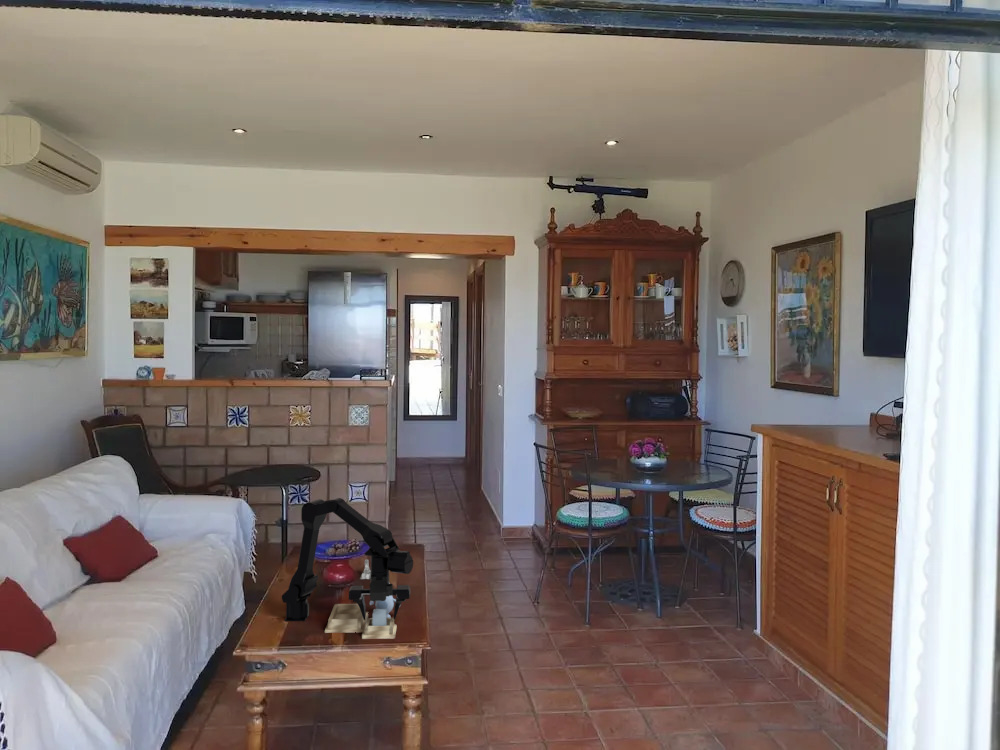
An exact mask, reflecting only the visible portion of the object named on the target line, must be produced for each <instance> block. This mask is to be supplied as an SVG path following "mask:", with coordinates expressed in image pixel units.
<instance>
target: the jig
mask: <svg viewBox="0 0 1000 750" xmlns="http://www.w3.org/2000/svg"><path fill="white" fill-rule="evenodd" d="M368 613H369V611H366V619H365V620H364V619H363V616H362V613H361V610H360V607H359V605H358V604H357V603H335V604H334V605H333V608H332V611H331V613H330V615H329V618H328V620H327V621H328V622H327V625H326V627H325V628H324V629H325V630H324V633H325V634H327V633H330V634H331V633H333V634H336V633H337V634H339V633H342V634H345V633H355V632H356V633H362V634H361V639H362V640H370V639H373V640H374V639H377V640H378V639H381V640H384V639H385V640H386V639H387V640H389V639H391V640H392V639H396V635H397V634H396V632H397V628H398V627H397V624H395V620H394V616H393V617H390V618H387V626H373V617H369V614H370V613H369V614H368Z"/></svg>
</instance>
